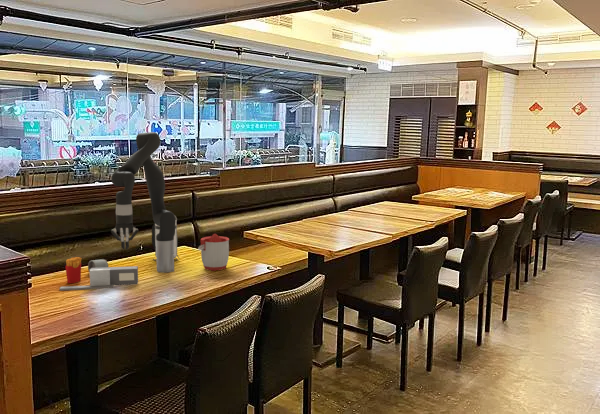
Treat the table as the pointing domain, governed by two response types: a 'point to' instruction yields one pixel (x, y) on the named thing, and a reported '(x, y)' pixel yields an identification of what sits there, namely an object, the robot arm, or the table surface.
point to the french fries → (73, 269)
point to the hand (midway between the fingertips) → (125, 248)
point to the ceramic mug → (97, 264)
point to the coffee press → (156, 231)
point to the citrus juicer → (214, 252)
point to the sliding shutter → (100, 277)
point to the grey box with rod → (113, 278)
